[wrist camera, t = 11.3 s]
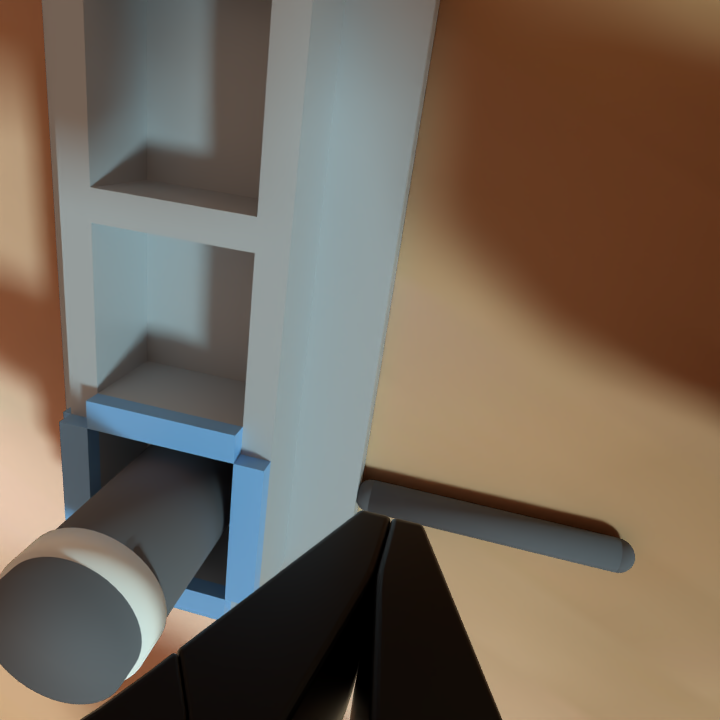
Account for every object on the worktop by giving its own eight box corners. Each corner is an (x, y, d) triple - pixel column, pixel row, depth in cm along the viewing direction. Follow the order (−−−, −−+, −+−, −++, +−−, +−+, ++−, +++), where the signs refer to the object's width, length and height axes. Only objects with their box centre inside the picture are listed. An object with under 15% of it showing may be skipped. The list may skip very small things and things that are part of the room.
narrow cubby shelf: (450, -66, 16) (435, -135, 12) (345, 583, 25) (315, 674, 21) (58, -105, 18) (-76, -178, 14) (87, 515, 27) (11, 586, 22)
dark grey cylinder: (266, 427, 22) (134, 599, 14) (254, 522, 24) (129, 729, 15) (158, 400, 22) (-32, 550, 14) (154, 495, 24) (-20, 679, 16)
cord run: (635, 535, 21) (642, 556, 20) (625, 561, 22) (632, 583, 21) (361, 470, 23) (354, 487, 22) (356, 496, 23) (350, 514, 22)
